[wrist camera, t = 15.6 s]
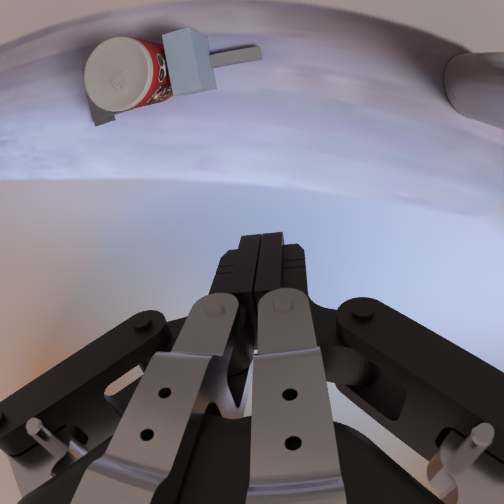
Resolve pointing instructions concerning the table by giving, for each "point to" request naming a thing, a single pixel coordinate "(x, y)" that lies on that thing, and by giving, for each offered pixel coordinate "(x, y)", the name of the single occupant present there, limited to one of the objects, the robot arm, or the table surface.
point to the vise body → (101, 112)
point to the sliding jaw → (198, 60)
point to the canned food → (127, 74)
